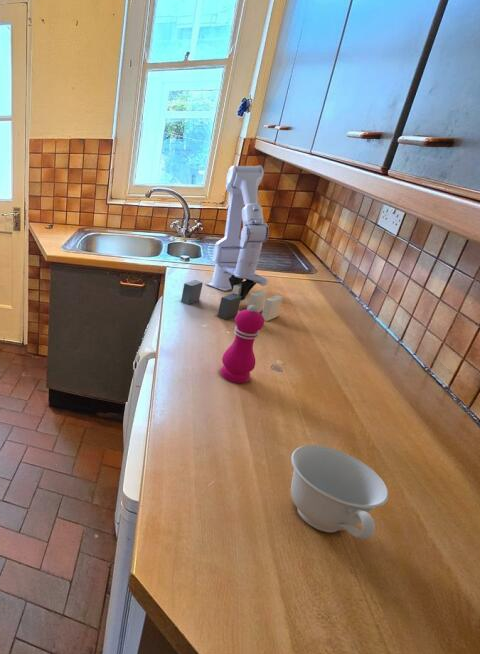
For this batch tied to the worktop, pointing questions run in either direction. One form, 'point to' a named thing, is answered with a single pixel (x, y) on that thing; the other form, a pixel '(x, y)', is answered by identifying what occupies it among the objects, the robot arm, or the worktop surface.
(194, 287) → the grey book
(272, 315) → the white book
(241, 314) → the pepper mill
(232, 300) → the grey book
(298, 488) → the teacup
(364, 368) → the worktop surface
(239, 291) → the white thin book
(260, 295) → the white book
